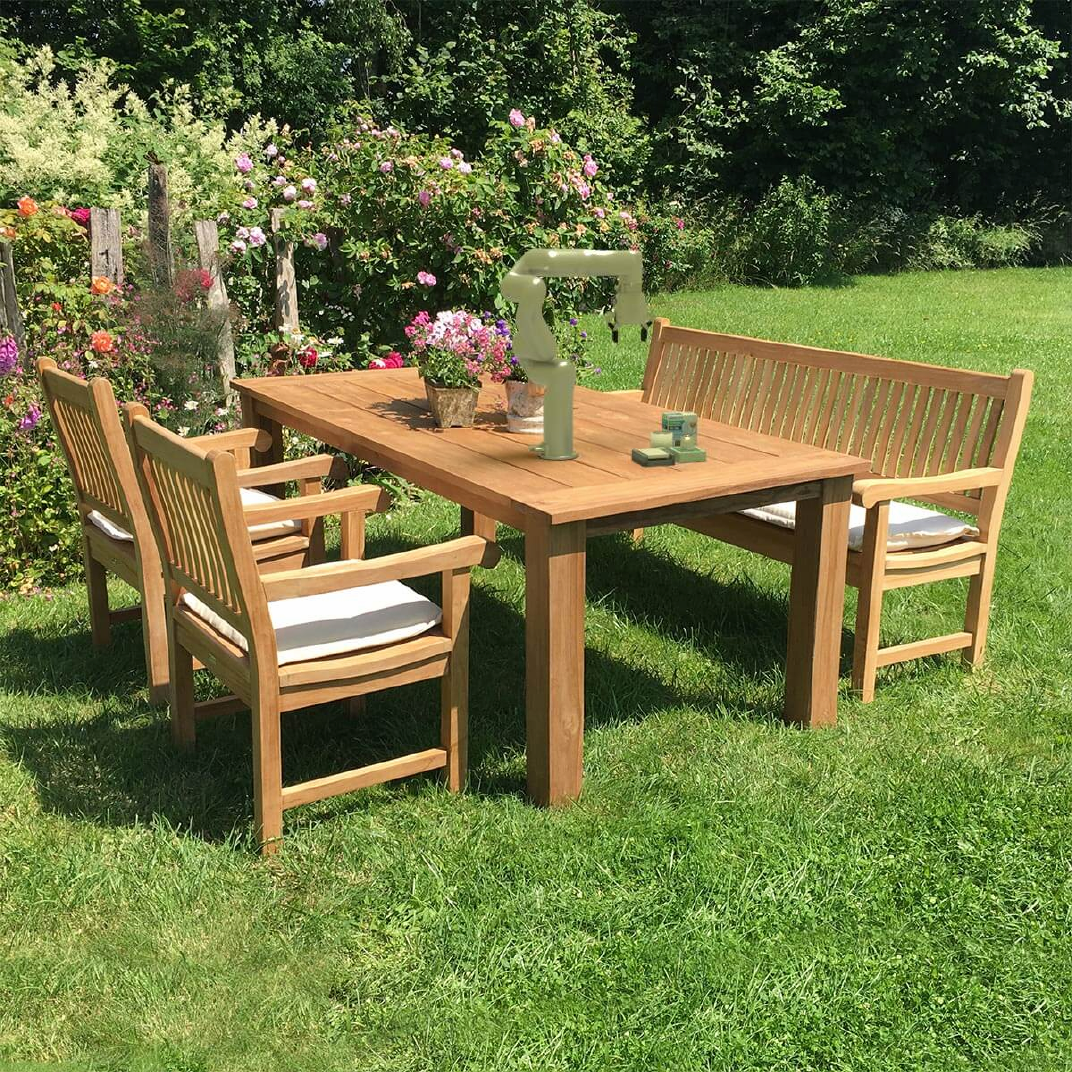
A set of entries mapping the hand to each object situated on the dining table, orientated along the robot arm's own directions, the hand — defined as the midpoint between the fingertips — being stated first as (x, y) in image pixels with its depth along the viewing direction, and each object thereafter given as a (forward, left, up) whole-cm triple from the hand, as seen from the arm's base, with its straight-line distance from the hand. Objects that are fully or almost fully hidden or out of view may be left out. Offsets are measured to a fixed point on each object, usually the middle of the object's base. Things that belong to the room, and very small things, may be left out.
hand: (629, 342), depth 395 cm
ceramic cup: (+5, -18, -34) cm, 39 cm away
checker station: (-2, -29, -34) cm, 45 cm away
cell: (+10, -28, -34) cm, 45 cm away
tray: (+10, -28, -34) cm, 45 cm away
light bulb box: (+16, -6, -35) cm, 39 cm away
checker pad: (-2, -29, -32) cm, 43 cm away
